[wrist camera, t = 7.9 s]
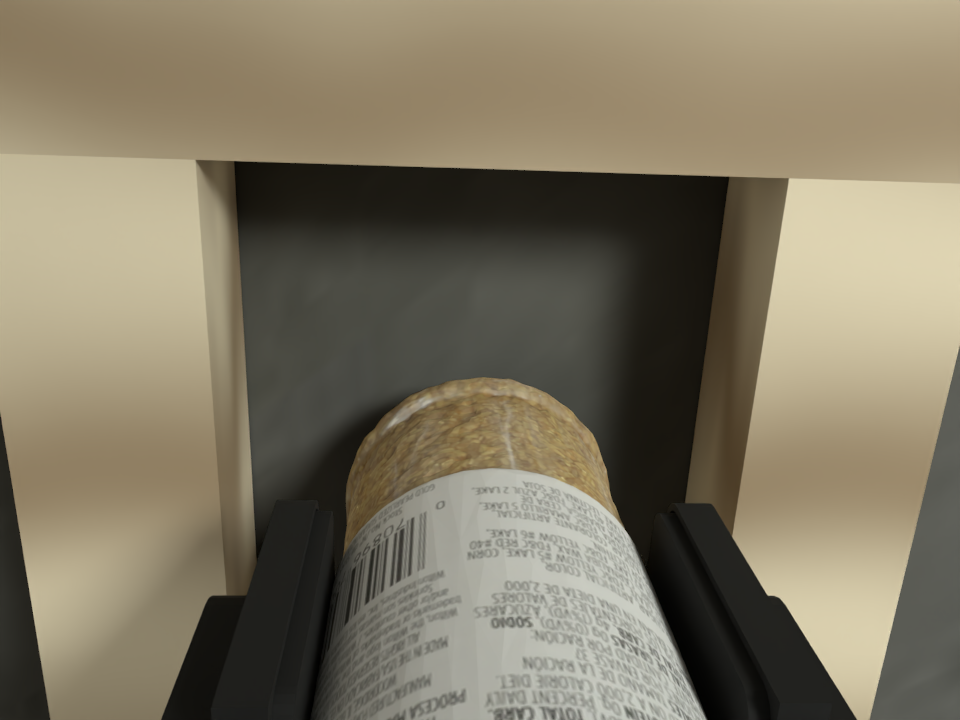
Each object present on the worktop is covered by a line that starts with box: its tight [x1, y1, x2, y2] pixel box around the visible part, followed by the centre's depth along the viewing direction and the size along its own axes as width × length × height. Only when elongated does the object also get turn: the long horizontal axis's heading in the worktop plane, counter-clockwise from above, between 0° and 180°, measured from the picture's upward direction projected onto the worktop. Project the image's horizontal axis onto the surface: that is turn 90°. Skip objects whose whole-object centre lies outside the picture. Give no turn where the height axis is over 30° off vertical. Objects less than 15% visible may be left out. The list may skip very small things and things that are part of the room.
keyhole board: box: [0, 0, 960, 720], centre depth 15 cm, size 20×14×2 cm
